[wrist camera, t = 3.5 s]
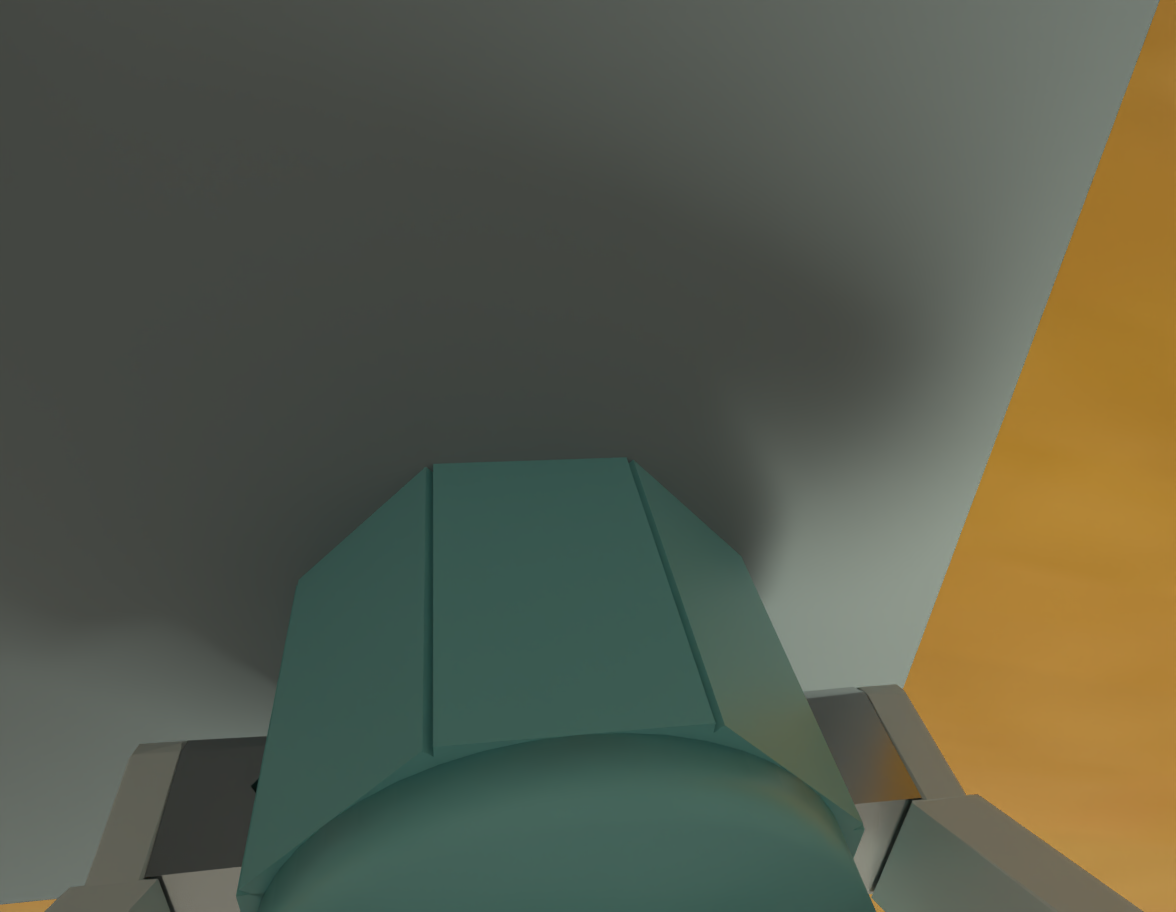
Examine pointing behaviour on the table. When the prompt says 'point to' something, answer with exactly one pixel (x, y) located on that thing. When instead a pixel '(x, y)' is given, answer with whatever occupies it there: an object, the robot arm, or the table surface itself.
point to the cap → (542, 715)
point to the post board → (495, 313)
